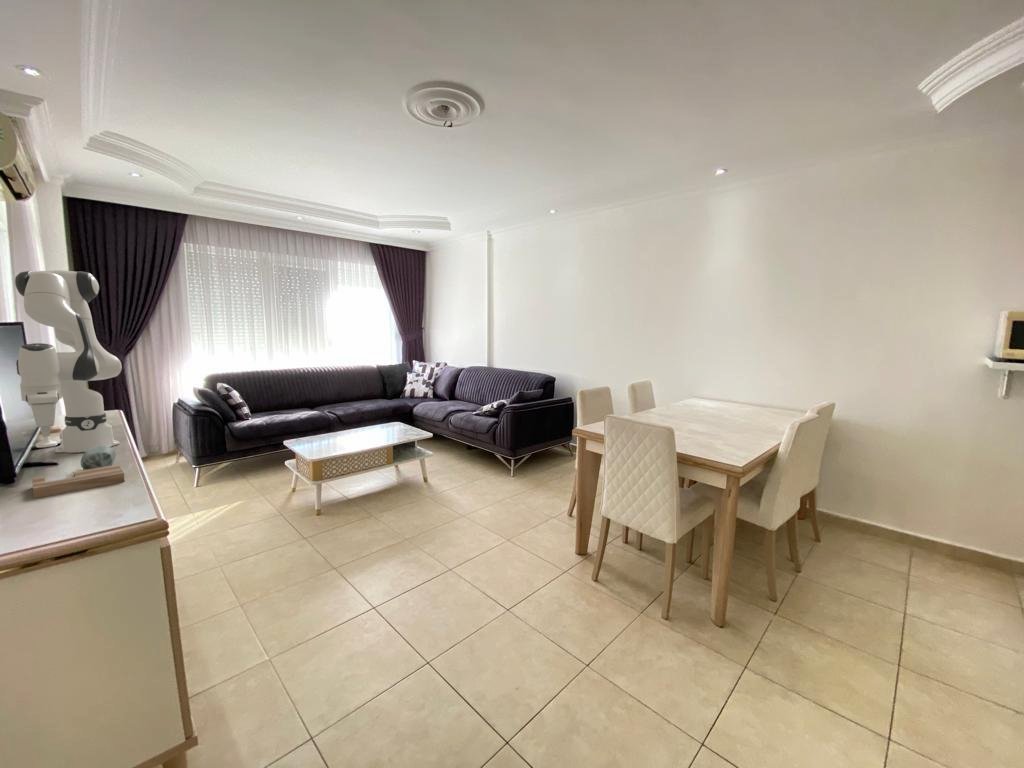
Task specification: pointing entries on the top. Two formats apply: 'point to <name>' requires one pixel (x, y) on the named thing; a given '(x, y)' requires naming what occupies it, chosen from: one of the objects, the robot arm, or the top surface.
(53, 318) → the robot arm
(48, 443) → the chess piece
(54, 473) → the top surface
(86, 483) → the notch board
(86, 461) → the yarn ball
